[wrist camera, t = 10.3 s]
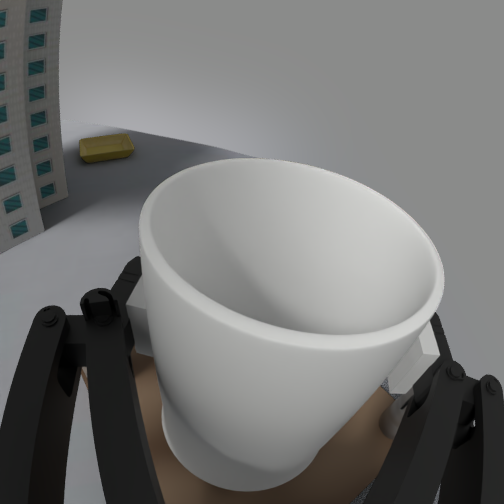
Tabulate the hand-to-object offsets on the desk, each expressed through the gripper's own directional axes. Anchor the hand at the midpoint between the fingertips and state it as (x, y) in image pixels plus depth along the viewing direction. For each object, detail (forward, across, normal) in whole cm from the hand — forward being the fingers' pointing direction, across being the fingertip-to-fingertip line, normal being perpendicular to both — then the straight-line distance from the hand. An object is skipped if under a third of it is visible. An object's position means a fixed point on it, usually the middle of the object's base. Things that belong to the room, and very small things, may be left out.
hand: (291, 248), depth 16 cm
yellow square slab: (+31, -28, -10) cm, 43 cm away
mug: (-4, 0, -7) cm, 9 cm away
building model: (+12, -34, -10) cm, 38 cm away
